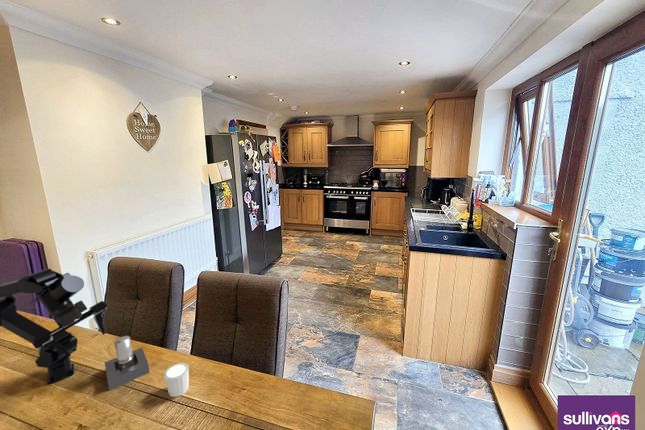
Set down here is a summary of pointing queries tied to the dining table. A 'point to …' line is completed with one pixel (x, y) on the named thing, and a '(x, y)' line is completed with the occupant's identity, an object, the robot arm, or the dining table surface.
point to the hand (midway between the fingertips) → (88, 344)
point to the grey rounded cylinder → (124, 352)
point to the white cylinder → (177, 379)
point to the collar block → (126, 370)
